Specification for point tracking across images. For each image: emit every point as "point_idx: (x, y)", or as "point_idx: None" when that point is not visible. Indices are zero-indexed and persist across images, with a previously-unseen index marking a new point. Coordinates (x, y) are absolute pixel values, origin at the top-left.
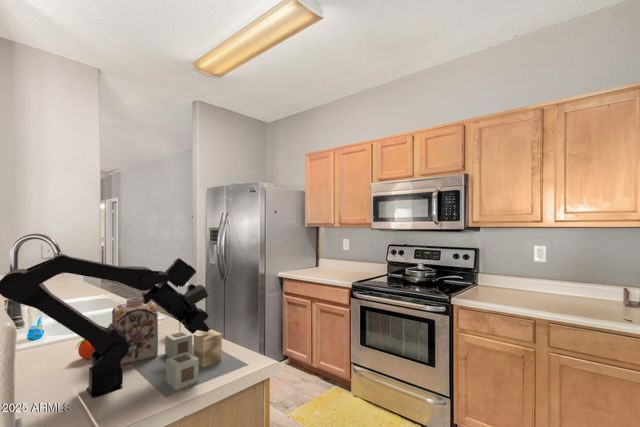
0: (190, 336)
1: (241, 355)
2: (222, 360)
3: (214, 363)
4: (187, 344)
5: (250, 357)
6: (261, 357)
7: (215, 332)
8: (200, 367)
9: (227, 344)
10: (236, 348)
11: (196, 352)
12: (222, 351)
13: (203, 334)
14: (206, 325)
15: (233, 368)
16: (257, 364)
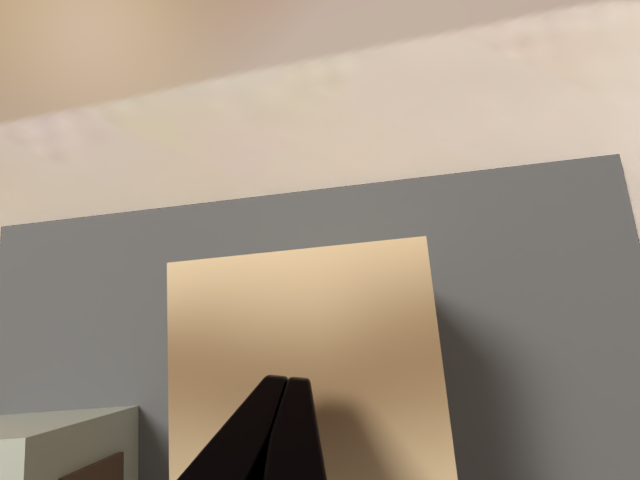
0: (32, 459)
1: (397, 117)
2: None
3: None
4: (86, 475)
5: (473, 82)
6: (525, 23)
7: (307, 274)
8: None
9: (148, 114)
10: (258, 93)
11: None
12: (261, 203)
13: None
14: (322, 471)
15: (612, 271)
16: (620, 95)
